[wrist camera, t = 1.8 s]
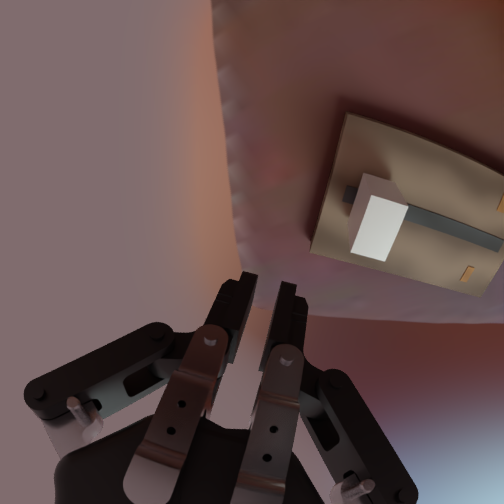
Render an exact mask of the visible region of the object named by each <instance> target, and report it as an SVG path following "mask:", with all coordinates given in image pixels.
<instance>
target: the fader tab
mask: <svg viewBox="0 0 504 504" xmlns="http://www.w3.org/2000/svg"><path fill="white" fill-rule="evenodd" d="M407 209H408V205H407V203H406V201H405V199H404V197H403V196H402V194H401V192H400V190H399V188H398V187H397V185H396V183H395V182H392V181H389V180H386V179H383V178H379V177H376V176H373V175H370V174H366V173H363V176H362V179H361V182H360V185H359V189H358V192H357V195H356V198H355V201H354V204H353V207H352V210H351V213H350V216H349V219H348V222H347V224H348V233H349V243H350V252H351V253H355V254H358V255H362V256H366V257H370V258H373V259H377V260H381V261H385V260H386V258H387V256H388V254H389V252H390V249H391V247H392V245H393V243H394V240H395V238H396V236H397V233H398V231H399V229H400V226H401V224H402V222H403V219H404V217H405V214H406V212H407Z"/></svg>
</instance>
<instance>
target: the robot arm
mask: <svg viewBox="0 0 504 504" xmlns="http://www.w3.org/2000/svg"><path fill="white" fill-rule="evenodd" d="M257 279H258V275H256V274H253V273H249V272H245V271H243V272H242V275H241V277H240V280H239V281H236V280H232V279H229V280H227V281H226V282H225V283H223V284H222V286H221V288H220V290H219V292H218V294H217V297H216V299H215V301H214V303H213V305H212V308H211V310H210V312H209V314H208V317H207V319H206V321H205V323H204V325H203V326H201V327H199V328H198V329H197V330H196V331H194V332H189V333H178V332H173V330H172V328H171V327H170V326H168V325H167V324H164V323H161V322H154V323H150V324H147V325H145V326H143V327H141V328H140V329H137V330H135V331H133V332H131V333H129V334H127V335H125V336H123V337H121V338H119V339H117V340H115V341H113V342H111V343H109V344H107V345H105V346H103V347H101V348H99V349H96V350H94V351H92V352H90V353H88V354H86V355H84V356H82V357H80V358H78V359H76V360H74V361H72V362H70V363H67V364H65V365H63V366H61V367H59V368H57V369H55V370H53V371H51V372H49V373H46V374H44V375H42V376H40V377H38V378H36V379H34V380H32V381H30V382H29V383H28V384H27V386H26V387H25V390H24V400H25V402H26V404H27V405H28V406H29V407H30V408H31V409H32V410H33V412H34V413H35V415H36V416H37V417H38V418H39V419H40V420H41V421H42V423H43V425H44V427H45V429H46V432H47V434H48V436H49V438H50V440H51V442H52V444H53V446H54V448H55V450H56V451H57V453H58V455H59V457H60V459H61V460H60V461H59V463H58V464H57V466H56V469H55V474H54V484H55V504H325V503H324V502H323V500H322V499H321V497H320V495H319V494H318V492H317V490H316V489H315V487H314V485H313V484H312V482H311V480H310V478H309V477H308V475H307V473H306V472H305V470H304V468H303V466H302V464H301V463H300V461H299V459H298V458H297V457H296V455H295V454H294V453H293V452H292V447H293V442H294V437H295V432H296V426H297V420H298V415H299V412H300V416H301V418H302V420H303V422H304V424H305V426H306V428H307V430H308V432H309V434H310V436H311V438H312V440H313V441H314V443H315V445H316V447H317V449H318V451H319V453H320V455H321V457H322V459H323V461H324V462H325V464H326V466H327V468H328V470H329V472H330V474H331V476H332V477H333V479H334V481H335V483H336V484H335V485H334V486H333V487H332V489H331V491H330V500H331V503H332V504H416V502H417V500H418V489H417V487H416V485H415V483H414V482H413V480H412V479H411V477H410V475H409V474H408V472H407V470H406V469H405V467H404V465H403V464H402V462H401V460H400V459H399V457H398V455H397V454H396V452H395V451H394V449H393V447H392V446H391V444H390V442H389V441H388V439H387V437H386V436H385V435H384V433H383V431H382V429H381V428H380V426H379V425H378V423H377V421H376V420H375V418H374V417H373V415H372V413H371V412H370V410H369V408H368V407H367V405H366V404H365V402H364V400H363V399H362V397H361V396H360V394H359V392H358V391H357V389H356V388H355V386H354V384H353V383H352V381H351V380H350V378H349V377H348V376H347V374H345V373H344V372H343V371H341V370H338V369H329V370H326V371H322V370H320V369H317V368H316V367H314V366H312V365H311V364H310V363H309V362H308V361H307V360H306V358H305V356H304V353H303V346H304V338H305V331H306V322H307V314H308V305H307V302H306V300H305V298H303V297H299V296H295V293H296V287H297V285H296V284H292V283H288V282H284V281H282V282H281V285H280V289H279V292H278V296H277V299H276V303H275V306H274V310H273V314H272V318H271V322H270V326H269V331H268V334H267V339H266V343H265V347H264V351H263V355H262V359H261V363H260V367H259V371H262V372H263V375H262V378H261V382H260V385H259V388H258V392H257V395H256V399H255V403H254V406H253V410H252V413H251V417H250V420H249V424H248V427H247V429H225V428H223V427H221V426H219V425H217V424H215V423H214V422H212V421H210V420H209V419H210V415H211V411H212V408H213V405H214V401H215V398H216V395H217V392H218V389H219V386H220V383H221V380H222V377H223V374H224V372H225V369H226V366H227V364H228V363H232V364H233V362H234V359H235V356H236V353H237V350H238V347H239V344H240V340H241V337H242V334H243V331H244V328H245V325H246V322H247V319H248V316H249V313H250V309H251V306H252V302H253V298H254V293H255V288H256V284H257ZM167 383H168V384H167ZM165 384H167V386H166V389H165V391H164V393H163V395H162V398H161V400H160V402H159V404H158V407H157V409H156V411H155V414H153V415H150V416H147V417H145V418H143V419H141V420H139V421H137V422H135V423H133V424H131V425H129V426H127V427H125V428H123V429H121V430H119V431H116V432H114V433H112V434H110V435H108V436H106V437H104V438H102V439H99V440H97V441H95V442H93V443H91V440H92V439H93V438H94V437H95V436H96V435H98V434H99V433H100V432H101V430H102V428H103V419H104V418H106V417H108V416H110V415H112V414H114V413H115V412H117V411H119V410H121V409H123V408H125V407H127V406H128V405H130V404H132V403H134V402H136V401H137V400H139V399H141V398H143V397H144V396H146V395H148V394H150V393H152V392H153V391H155V390H156V389H159V388H160V387H162V386H163V385H165ZM90 443H91V444H90Z"/></svg>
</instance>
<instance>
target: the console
mask: <svg viewBox="0 0 504 504" xmlns="http://www.w3.org/2000/svg"><path fill="white" fill-rule="evenodd" d="M363 173H366V174H370V175H373V176H376V177H379V178H383V179H386V180H389V181H392V182H395V183H396V185H397V187H398V188H399V190H400V192H401V194H402V196H403V197H404V199H405V201H406V203H407V205H408V209H407V212H406V214H405V217H404V219H403V222H402V224H401V226H400V229H399V231H398V233H397V236H396V238H395V240H394V243H393V245H392V247H391V249H390V252H389V254H388V256H387V258H386V260H385V261H381V260H377V259H373V258H370V257H366V256H362V255H358V254H355V253H351V252H350V243H349V233H348V224H347V222H348V219H349V216H350V213H351V210H352V207H353V204H354V201H355V198H356V195H357V192H358V189H359V185H360V182H361V179H362V176H363ZM310 253H314V254H318V255H322V256H325V257H329V258H333V259H337V260H341V261H345V262H349V263H353V264H357V265H360V266H364V267H368V268H372V269H376V270H380V271H383V272H387V273H391V274H395V275H399V276H402V277H406V278H410V279H414V280H417V281H421V282H425V283H429V284H432V285H436V286H440V287H443V288H447V289H451V290H454V291H458V292H462V293H465V294H469V295H473V296H476V297H481V296H482V294H483V293H484V291H485V290H486V288H487V286H488V285H489V283H490V282H491V280H492V278H493V277H494V275H495V274H496V272H497V270H498V269H499V267H500V265H501V263H502V262H503V260H504V174H502V173H500V172H499V171H497V170H495V169H493V168H491V167H489V166H487V165H485V164H483V163H481V162H479V161H477V160H475V159H473V158H471V157H469V156H467V155H464V154H462V153H460V152H458V151H456V150H454V149H451V148H449V147H447V146H444V145H442V144H440V143H437V142H435V141H432V140H430V139H427V138H425V137H422V136H420V135H417V134H415V133H412V132H409V131H407V130H404V129H401V128H398V127H395V126H392V125H390V124H387V123H384V122H381V121H377V120H374V119H371V118H368V117H365V116H361V115H358V114H355V113H351V112H348V111H346V113H345V118H344V122H343V126H342V130H341V134H340V138H339V142H338V146H337V150H336V154H335V157H334V161H333V165H332V169H331V172H330V176H329V180H328V184H327V187H326V191H325V194H324V198H323V202H322V205H321V209H320V212H319V215H318V219H317V222H316V226H315V229H314V233H313V236H312V239H311V244H310Z"/></svg>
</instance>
